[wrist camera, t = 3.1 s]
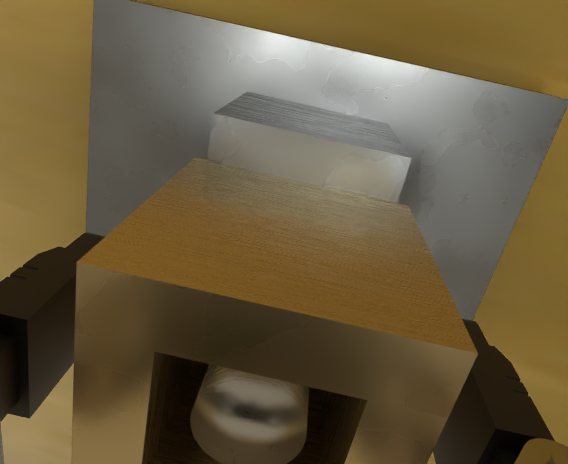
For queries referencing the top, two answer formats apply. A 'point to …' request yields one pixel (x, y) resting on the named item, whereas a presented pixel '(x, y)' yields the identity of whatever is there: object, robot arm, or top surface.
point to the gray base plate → (305, 160)
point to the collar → (264, 320)
